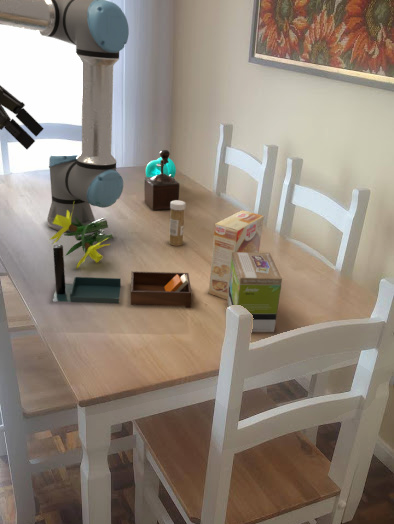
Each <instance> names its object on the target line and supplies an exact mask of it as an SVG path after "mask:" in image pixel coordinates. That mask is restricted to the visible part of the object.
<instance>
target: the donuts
mask: <svg viewBox="0 0 394 524" xmlns="http://www.w3.org/2000/svg"><path fill="white" fill-rule="evenodd" d="M161 160H162V157H161V156H160V157H158V158H157V159H155V160H150V162H148V163H147V165H146V167H145V177H154V176H156V175H159V174H161V167H158V166H157V164H159V163H160V161H161ZM168 161H169V163H167V164H166V165H165V164H164V166H163V173H164V174H166V175H168V176H169V175H170V174H171V177H173V178H174V179H175V176H176V174H177V167H176V164H175V162H174V161H173V160H172V159H171V158H169V157H168Z"/></svg>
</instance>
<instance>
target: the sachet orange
mask: <svg viewBox="0 0 394 524" xmlns="http://www.w3.org/2000/svg"><path fill="white" fill-rule="evenodd" d="M182 284H183V282H182V280H181V278H180V276H179V275H178V274H177V275H176V276H175V277H174V278H173V279H172V280H170V281H169V282H168V283H167V284H166V285H165V286H164V288H165V290H166V291H169V292H175V291H176V290H177V289H178V288H179V287H180V286H181V285H182Z"/></svg>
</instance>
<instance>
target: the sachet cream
mask: <svg viewBox="0 0 394 524" xmlns="http://www.w3.org/2000/svg"><path fill="white" fill-rule="evenodd" d="M180 278H181V280H182V282H183V284H182V285H181V286H180V287H179V288H178V289H177V290H176V291H175V292H179V291H180V290H181V289H183V288H184V287H185V286H186V285H187V284H188V283H189V282H188V279H187V276H186V275H185V274H183V275H182V276H181V277H180Z"/></svg>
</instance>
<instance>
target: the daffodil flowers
mask: <svg viewBox="0 0 394 524" xmlns="http://www.w3.org/2000/svg"><path fill="white" fill-rule="evenodd" d="M73 208H74V206H73ZM72 212H73V211H72ZM69 216H70V212H69V211H68V210H67V213H66V217H64V216H61V215H56V217H55V219H54V220H53V221H54V222H53V224H57V225H60V226H62V227H63V228H62V229H61V230H60V231H58V230H57V232H55V234H54V235H52V236H51V237H50V238H49V241H51V240H54V241H53V243H52V245H55V243H57V242H58V241H59V240H60V239H61V237H62V236H63V235H64V236H66V237H74V238H75V240H76V241H79V242H77V243H75V244H73V245H72V246H71V247H70V248H69V250H68V251H67V252H66V253H65V256H64V257H67V256H69V255H70V254H71V253H73V252H75V251H77V250H78V249H79V248H82V250H83V252H84V254H83V256H82V257H81V258H80V259H79V261H78V263H76V268H75V269H78V268H79V267H80V266H81V265H82V264H84V263H85V260H86V259H87V257H88V256H89V258H91V260H92V261H94V262H95V264H96V263H99V262H100V261H102V260H103V258H104V256H103V254H101V253H99V252H98V250H99V249H101V248H103V247H109V246H110V245H111V243H106V244H105V243H104V244H102V243H103V242H105V241H108V240H110V239H113V238H114V235H113V234H112V233H109V234H107V233H105V231H106V230H105V229H108V228H109V224H108V220H107V219H106V218H107V217H103V218H99V219H96V220H95V221H94V222H92V223H90V224H87V225H83V224H81V223H80V221H79V220H78V219H77V218H76V217H75V219H76V221H77V223H78V224H77V223H74V222H71V217H72V214H71V216H70V217H69ZM94 223H95V224H94ZM68 229H69V230H70V231H75V232H65V231H67V230H68ZM64 233H65V234H64ZM96 242H97V243H96ZM94 243H96V244H94Z"/></svg>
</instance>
